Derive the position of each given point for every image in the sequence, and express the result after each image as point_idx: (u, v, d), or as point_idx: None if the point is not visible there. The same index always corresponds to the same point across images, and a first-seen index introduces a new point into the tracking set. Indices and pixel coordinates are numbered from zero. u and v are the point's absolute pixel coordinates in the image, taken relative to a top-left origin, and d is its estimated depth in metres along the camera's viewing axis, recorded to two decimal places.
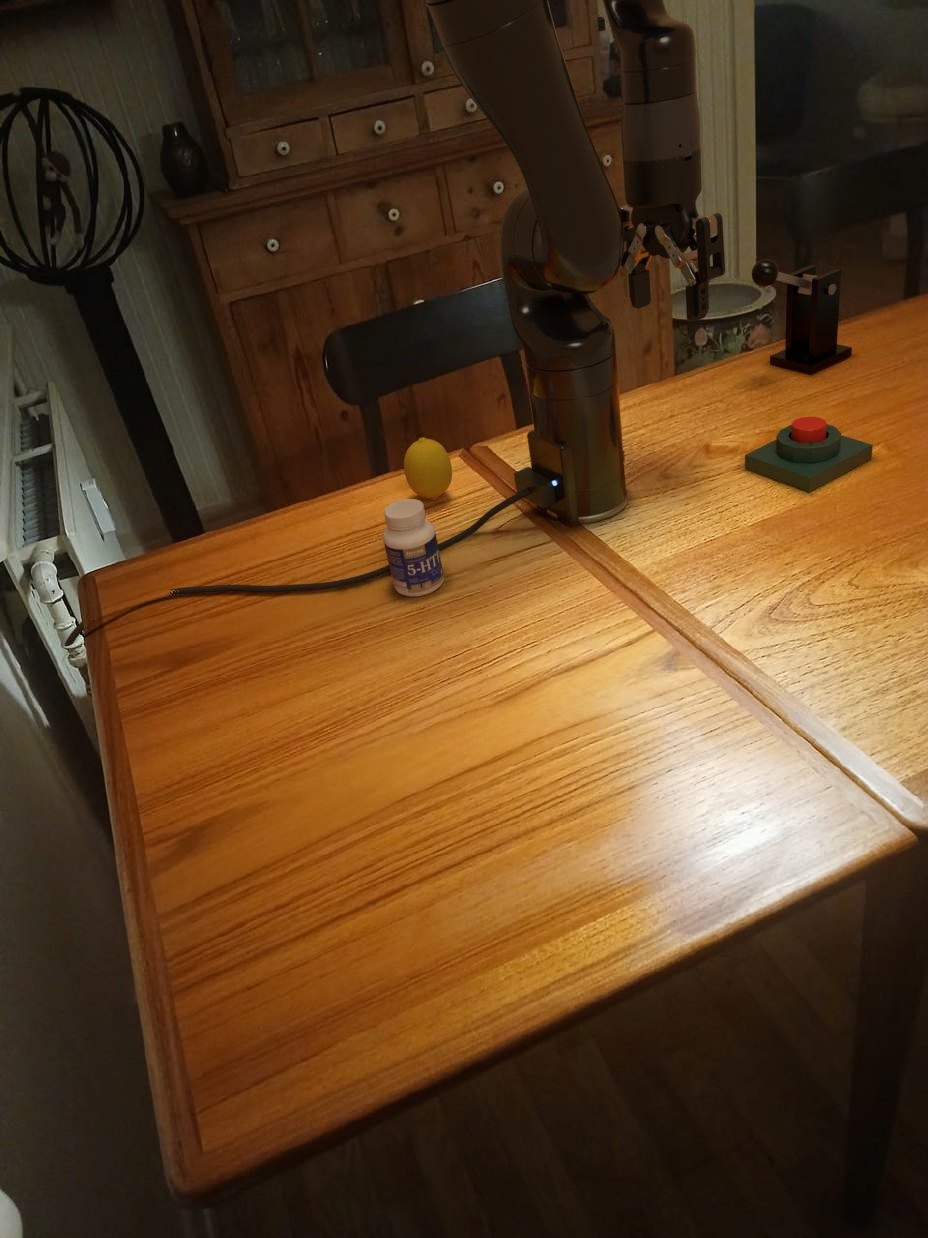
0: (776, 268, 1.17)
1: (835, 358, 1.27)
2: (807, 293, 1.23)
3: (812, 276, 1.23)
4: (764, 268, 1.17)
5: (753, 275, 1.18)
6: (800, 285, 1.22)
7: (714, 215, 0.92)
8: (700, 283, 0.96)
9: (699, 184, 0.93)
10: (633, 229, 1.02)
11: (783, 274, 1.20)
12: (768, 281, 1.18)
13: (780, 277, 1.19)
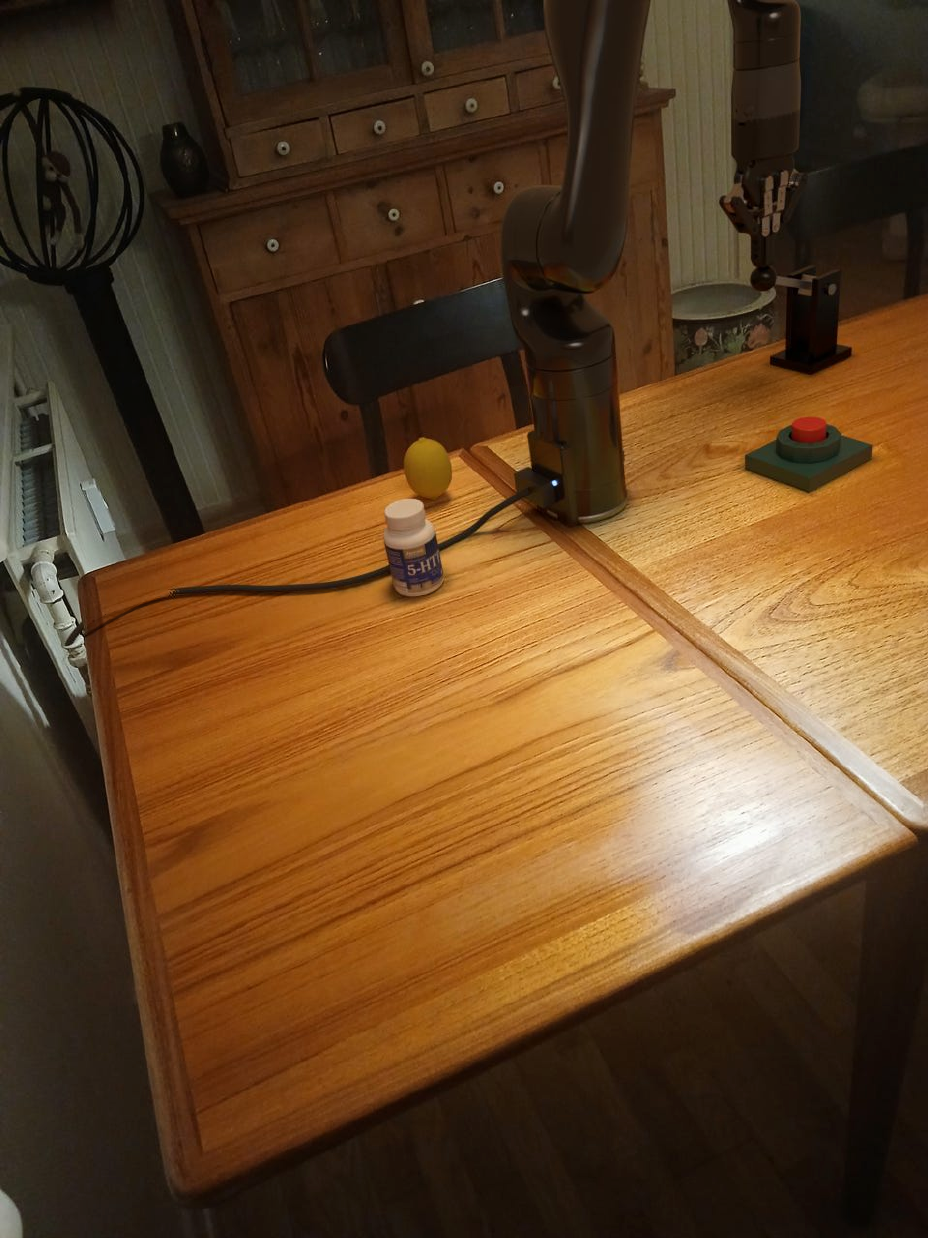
0: (774, 273, 1.17)
1: (835, 358, 1.27)
2: (807, 294, 1.23)
3: (811, 277, 1.23)
4: (762, 274, 1.17)
5: (752, 281, 1.18)
6: (800, 287, 1.22)
7: (729, 200, 1.10)
8: (749, 234, 1.15)
9: (755, 150, 1.07)
10: (791, 192, 1.14)
11: (782, 278, 1.20)
12: (767, 286, 1.18)
13: (778, 281, 1.20)
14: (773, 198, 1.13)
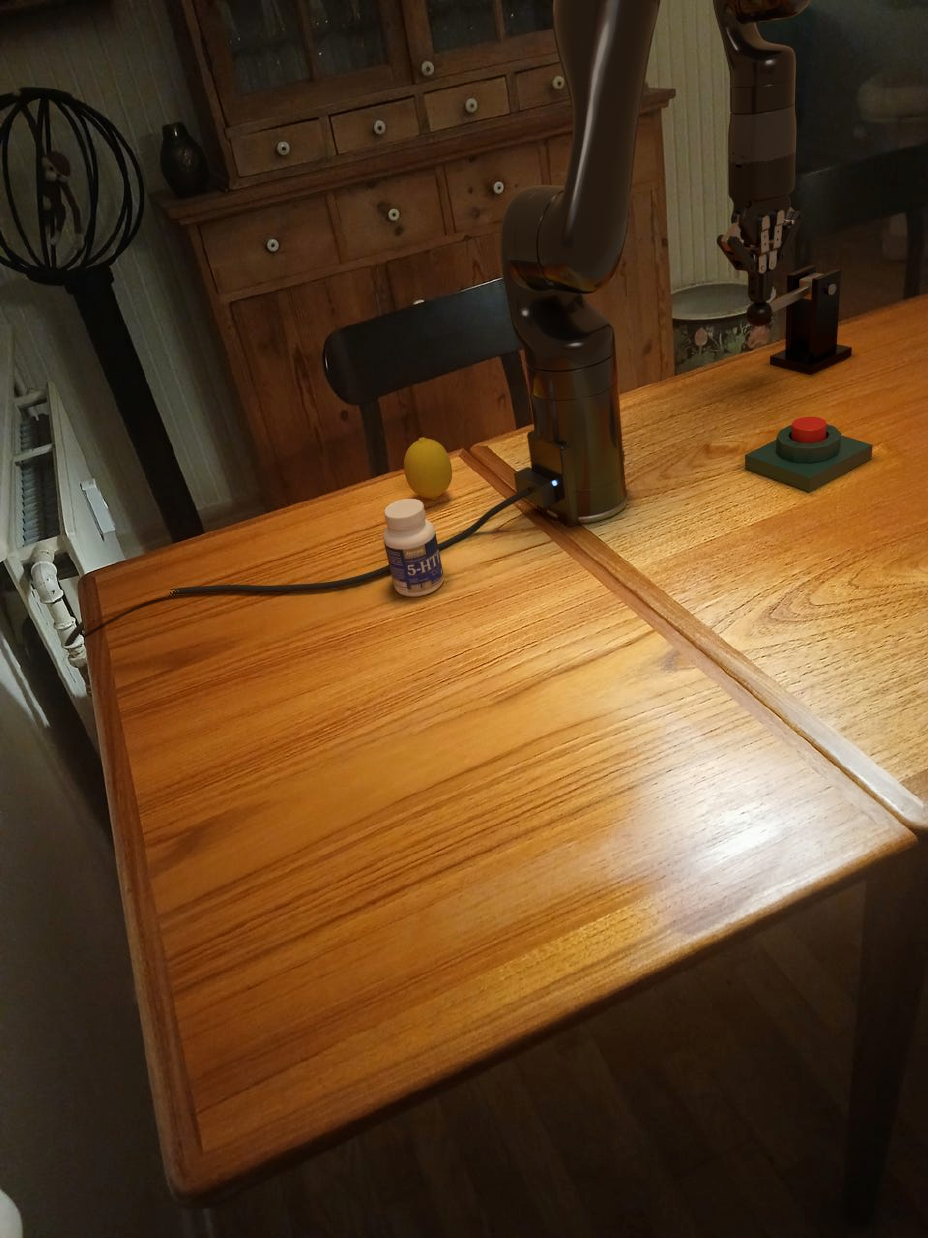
0: (768, 309, 1.19)
1: (835, 358, 1.27)
2: (809, 298, 1.24)
3: (808, 282, 1.23)
4: (757, 314, 1.19)
5: (748, 321, 1.21)
6: (799, 298, 1.23)
7: (727, 240, 1.12)
8: (746, 271, 1.17)
9: (752, 191, 1.10)
10: (788, 230, 1.16)
11: (778, 303, 1.21)
12: (765, 323, 1.20)
13: (775, 308, 1.21)
14: (770, 236, 1.15)
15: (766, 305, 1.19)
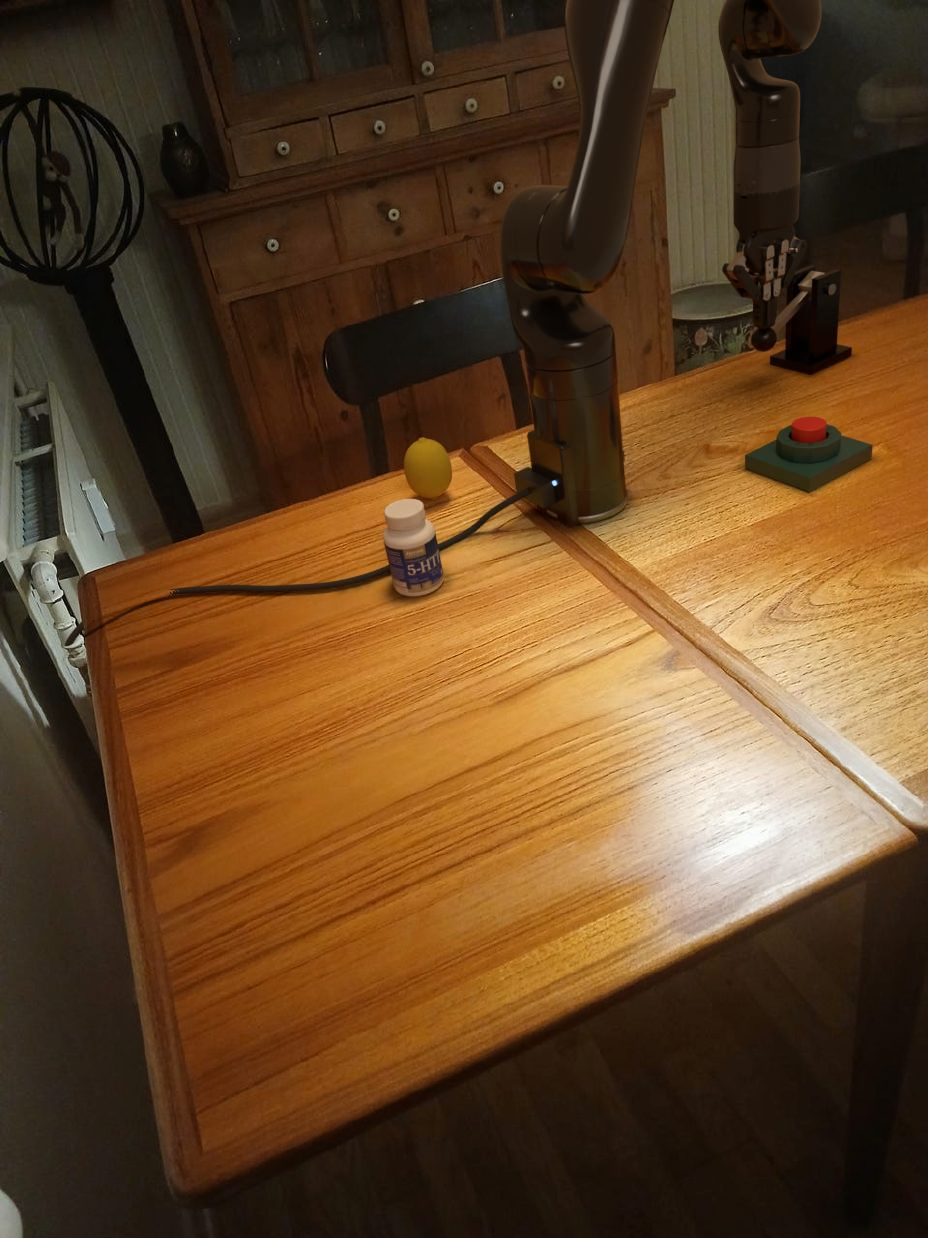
0: (771, 335, 1.22)
1: (835, 358, 1.27)
2: None
3: (807, 287, 1.23)
4: (761, 344, 1.22)
5: None
6: (801, 306, 1.24)
7: (732, 268, 1.15)
8: None
9: (757, 222, 1.12)
10: (792, 258, 1.19)
11: (780, 322, 1.23)
12: (771, 347, 1.23)
13: (779, 327, 1.23)
14: (774, 265, 1.17)
15: (768, 332, 1.22)
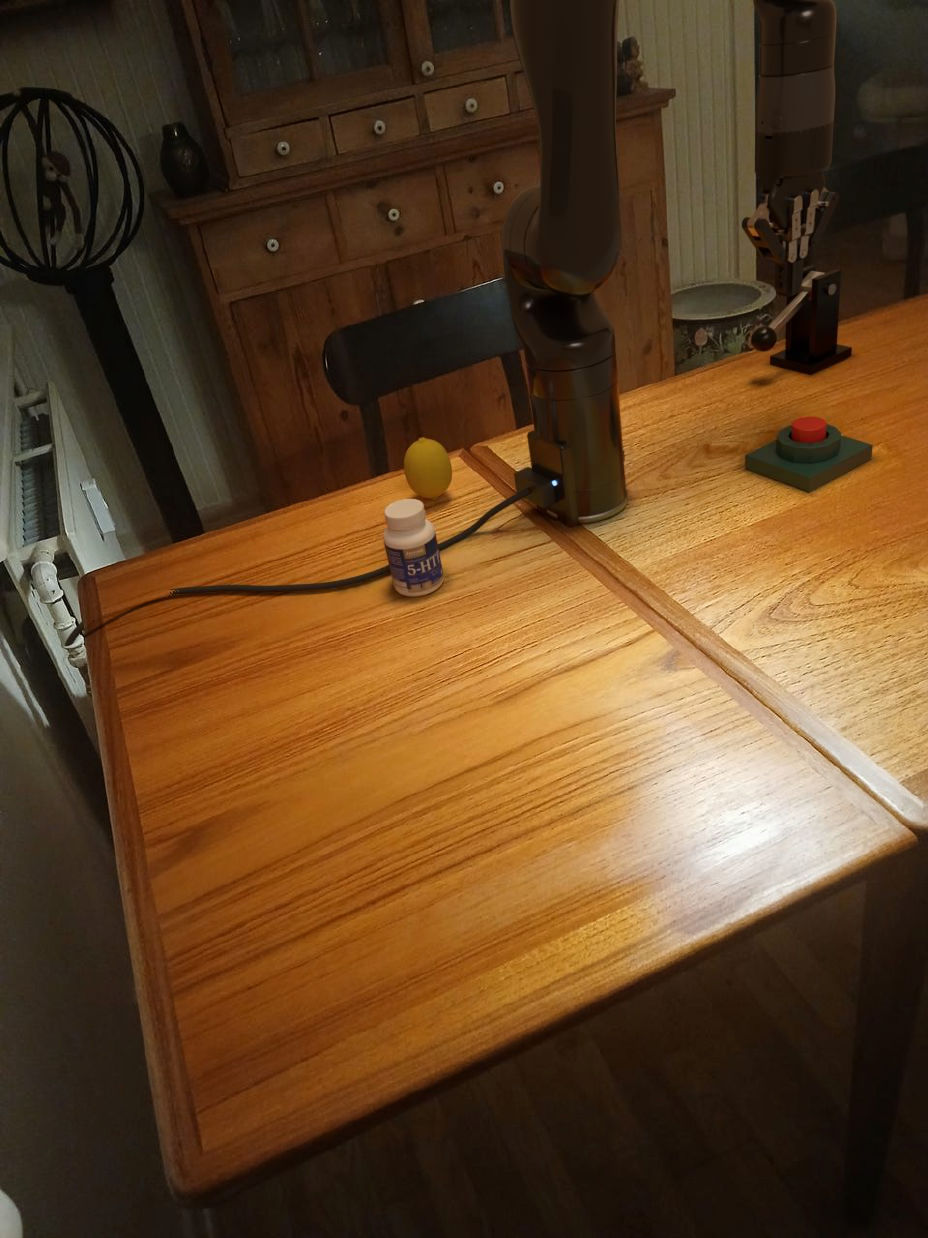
0: (771, 335, 1.22)
1: (835, 358, 1.27)
2: None
3: (807, 287, 1.23)
4: (761, 344, 1.22)
5: None
6: (801, 306, 1.24)
7: (754, 223, 0.98)
8: (774, 260, 1.03)
9: (783, 167, 0.95)
10: (821, 213, 1.02)
11: (780, 322, 1.23)
12: (771, 347, 1.23)
13: (779, 327, 1.23)
14: (801, 220, 1.00)
15: (768, 332, 1.22)
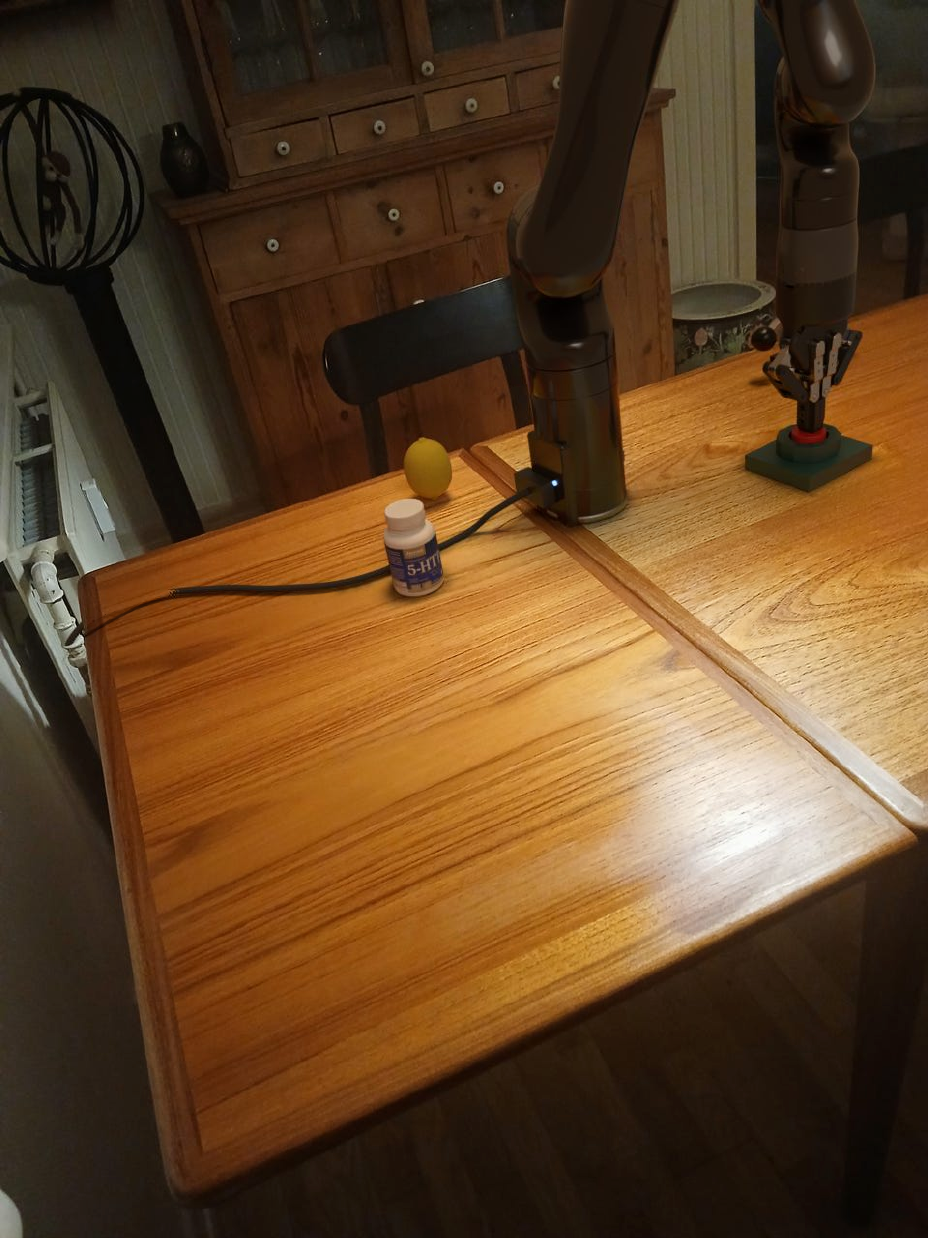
0: (771, 335, 1.22)
1: None
2: None
3: None
4: (761, 344, 1.22)
5: None
6: None
7: (775, 369, 0.96)
8: None
9: (805, 316, 0.93)
10: (844, 351, 1.00)
11: (780, 322, 1.23)
12: (771, 347, 1.23)
13: (779, 327, 1.23)
14: (823, 361, 0.99)
15: (768, 332, 1.22)
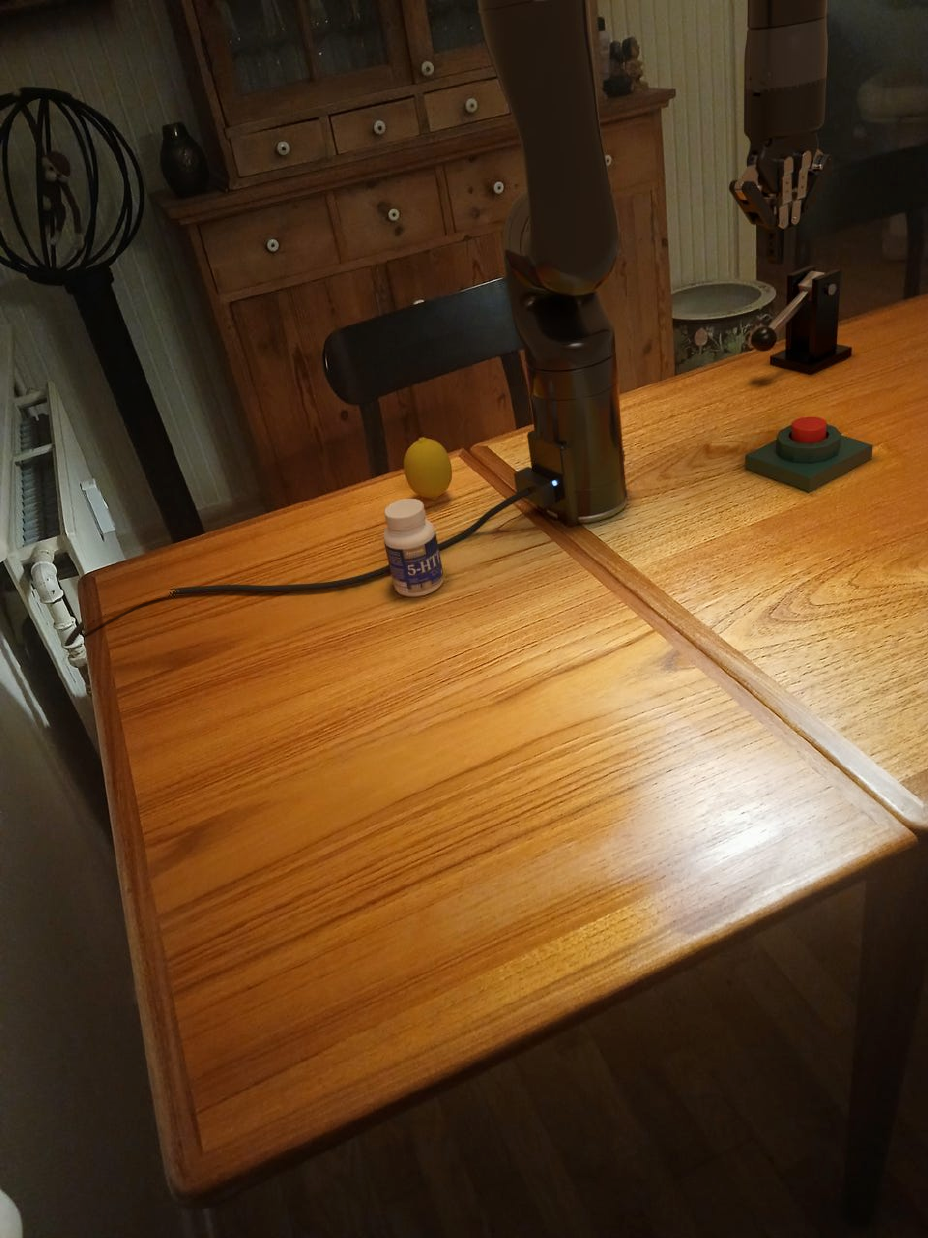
0: (771, 335, 1.22)
1: (835, 358, 1.27)
2: None
3: (807, 287, 1.23)
4: (761, 344, 1.22)
5: None
6: (801, 306, 1.24)
7: (741, 185, 0.93)
8: (764, 226, 0.98)
9: (772, 126, 0.91)
10: (814, 176, 0.97)
11: (780, 322, 1.23)
12: (771, 347, 1.23)
13: (779, 327, 1.23)
14: (793, 183, 0.96)
15: (768, 332, 1.22)
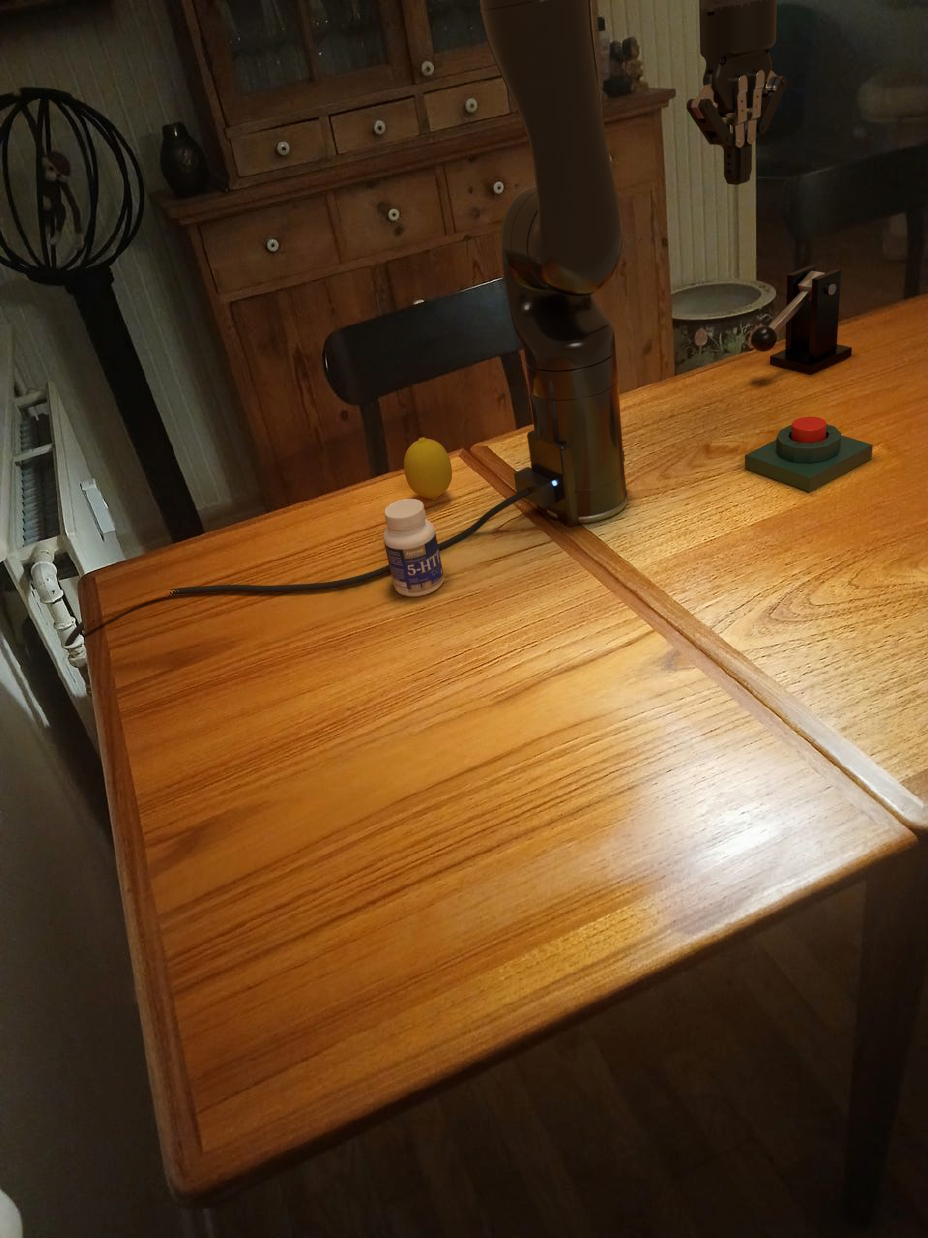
0: (771, 335, 1.22)
1: (835, 358, 1.27)
2: None
3: (807, 287, 1.23)
4: (761, 344, 1.22)
5: None
6: (801, 306, 1.24)
7: (698, 103, 0.97)
8: (722, 146, 1.03)
9: (726, 43, 0.95)
10: (769, 97, 1.02)
11: (780, 322, 1.23)
12: (771, 347, 1.23)
13: (779, 327, 1.23)
14: (748, 103, 1.00)
15: (768, 332, 1.22)
